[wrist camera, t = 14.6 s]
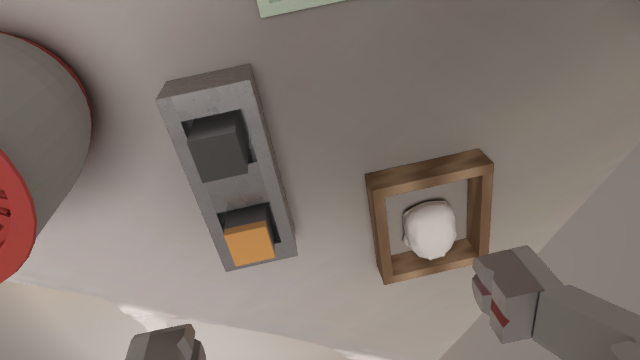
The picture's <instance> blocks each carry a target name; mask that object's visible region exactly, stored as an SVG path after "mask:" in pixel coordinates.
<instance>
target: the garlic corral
mask: <svg viewBox="0 0 640 360" xmlns="http://www.w3.org/2000/svg"><path fill="white" fill-rule="evenodd" d="M493 172H494V163H493V162H492V161H491V160H490V159H489V158H488V157H487V156H486V155H485V154H484V153H483V152H482V151H481V150H480V149H475V150H471V151H466V152H462V153H458V154H453V155H449V156H444V157H440V158H435V159H431V160H426V161H422V162H417V163H413V164H408V165H404V166H399V167H395V168H390V169H386V170H382V171H377V172H373V173H368V174H365V180H366V187H367V194H368V202H369V209H370V216H371V224H372V231H373V238H374V246H375V253H376V261H377V267H378V269H379V272H380V275H381V277H382V280H383V283H384V285H387V284H391V283H395V282H400V281H404V280H408V279H413V278H417V277H421V276H426V275H430V274H434V273H439V272H443V271H447V270H452V269H456V268H460V267H465V266H469V265H473V260H474V258H475V257H479V256H483V255H487V254H488V253H489V237H490V221H491V204H492V188H493ZM464 179H468V203H467V238H466V239H462V240H457V241H454V243H453V245H452V247H451V249H450V250H449V251H447V252H446V254H445V256H444V257H439V258H436V259H432V260H429V259H426V258H422V257H419V256H418V255H417V254H416V253H415V252H414V251H409V252H405V253H401V254H396V255H392V256H391V254H390V245H389V236H388V227H387V217H386V208H385V199H384V197H388V196H393V195H397V194H401V193H406V192H410V191H415V190H419V189H424V188H428V187H433V186H437V185H441V184H446V183H450V182H455V181H459V180H464Z"/></svg>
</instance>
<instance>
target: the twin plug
mask: <svg viewBox="0 0 640 360" xmlns="http://www.w3.org/2000/svg"><path fill="white" fill-rule="evenodd" d="M187 145H188V148H189V150H190V153H191V155H192V158H193V160H194V163H195V165H196V168H197V171H198V173H199V176H200V178H201V181H202V183H206V182H211V181H215V180H220V179H224V178H229V177H233V176H238V175H243V174H247V173H248V158H249V137H248V134H247V130H246V127H245V124H244V120H243V117H242V114H241V110H240V109H237V110H233V111H228V112H224V113H219V114H215V115H210V116H205V117H201V118H196V119H194V121H193V124H192V127H191V130H190V133H189V136H188V139H187Z"/></svg>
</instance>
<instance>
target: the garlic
mask: <svg viewBox="0 0 640 360" xmlns="http://www.w3.org/2000/svg"><path fill="white" fill-rule="evenodd" d="M403 221H404V222H403V227H404V231H405V235H404V238H403V243H404V244H406V245H407V246H408V247H409V246H410V248H411V249H412V250H413V251H414V252H415V253H416V254H417V255H418V256H419V257H422V258H426V259H429V260H432V259H436V258H439V257H444V256H445V254H446V252H447V251H449V250H450V249H451V247H452V245H453V243H454V241H455V239H456V236H457V233H456V228H455V216H454V213H453V210H452V208H451V207H450V206H449V205H448V204H447V202H446V201H429V202H424V203H421V204H419V205H417V206H415V207H413V208H411V209H409V210H408V211H406V212H405V213H404V214H403Z"/></svg>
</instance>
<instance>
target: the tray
mask: <svg viewBox="0 0 640 360" xmlns="http://www.w3.org/2000/svg"><path fill="white" fill-rule="evenodd" d="M339 1H344V0H257V4H258V8H259V12H260V16H261V18H264V17H269V16H273V15H278V14H283V13H288V12H292V11H297V10H302V9H306V8H311V7H316V6H321V5H325V4H330V3H335V2H339Z"/></svg>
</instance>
